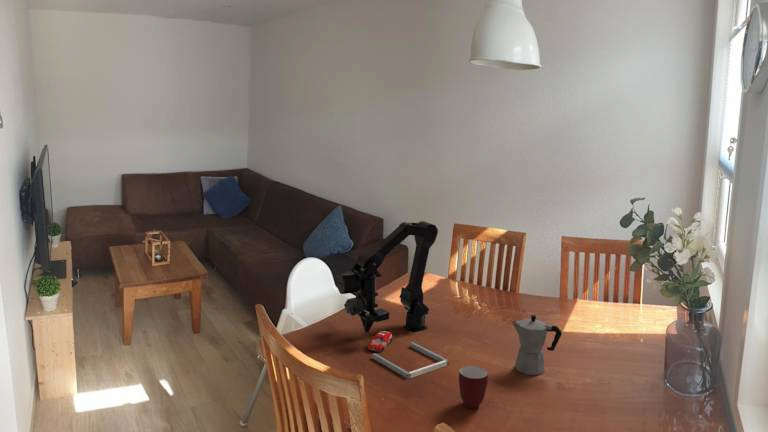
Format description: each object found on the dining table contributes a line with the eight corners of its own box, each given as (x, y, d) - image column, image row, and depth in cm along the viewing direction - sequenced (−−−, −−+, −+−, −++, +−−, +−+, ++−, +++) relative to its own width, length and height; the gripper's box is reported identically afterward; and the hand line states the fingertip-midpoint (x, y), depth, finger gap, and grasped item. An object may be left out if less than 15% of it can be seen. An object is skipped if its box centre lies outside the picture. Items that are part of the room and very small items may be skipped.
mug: (463, 392, 185) (465, 360, 183) (490, 397, 182) (492, 365, 180) (454, 408, 175) (455, 375, 173) (482, 414, 172) (484, 380, 170)
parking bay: (412, 346, 216) (412, 341, 216) (448, 364, 203) (449, 360, 202) (372, 358, 206) (372, 354, 206) (408, 378, 192) (408, 374, 192)
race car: (380, 354, 210) (380, 343, 209) (365, 352, 212) (365, 340, 211) (394, 340, 222) (395, 329, 221) (380, 337, 224) (380, 327, 223)
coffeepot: (505, 371, 199) (509, 317, 195) (511, 359, 207) (515, 307, 204) (556, 380, 193) (560, 325, 190) (560, 368, 202) (564, 314, 198)
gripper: (333, 286, 222) (333, 328, 225) (364, 301, 207) (363, 346, 210) (359, 281, 228) (358, 322, 232) (390, 295, 214) (389, 338, 217)
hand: (366, 332), depth 223 cm, fingers closed
